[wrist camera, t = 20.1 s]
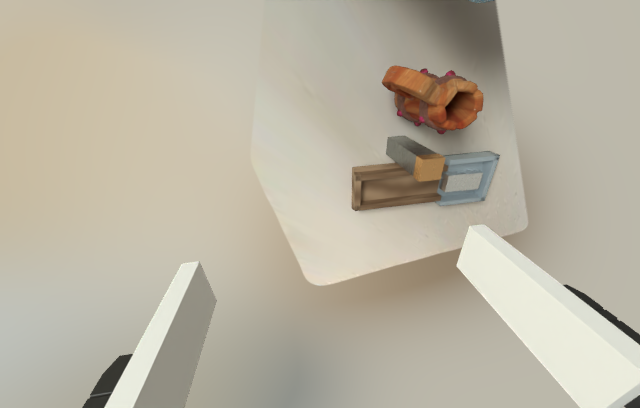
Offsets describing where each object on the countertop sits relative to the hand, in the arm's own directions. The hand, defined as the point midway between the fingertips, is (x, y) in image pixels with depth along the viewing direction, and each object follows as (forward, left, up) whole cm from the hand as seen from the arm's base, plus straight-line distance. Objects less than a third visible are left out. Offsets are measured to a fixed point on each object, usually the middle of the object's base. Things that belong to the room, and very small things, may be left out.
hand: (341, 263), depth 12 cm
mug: (-4, +19, -37) cm, 42 cm away
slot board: (+15, +20, -37) cm, 44 cm away
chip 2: (+15, +36, -36) cm, 54 cm away
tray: (+15, +36, -37) cm, 53 cm away
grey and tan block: (+6, +19, -37) cm, 42 cm away
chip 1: (+15, +32, -36) cm, 51 cm away
